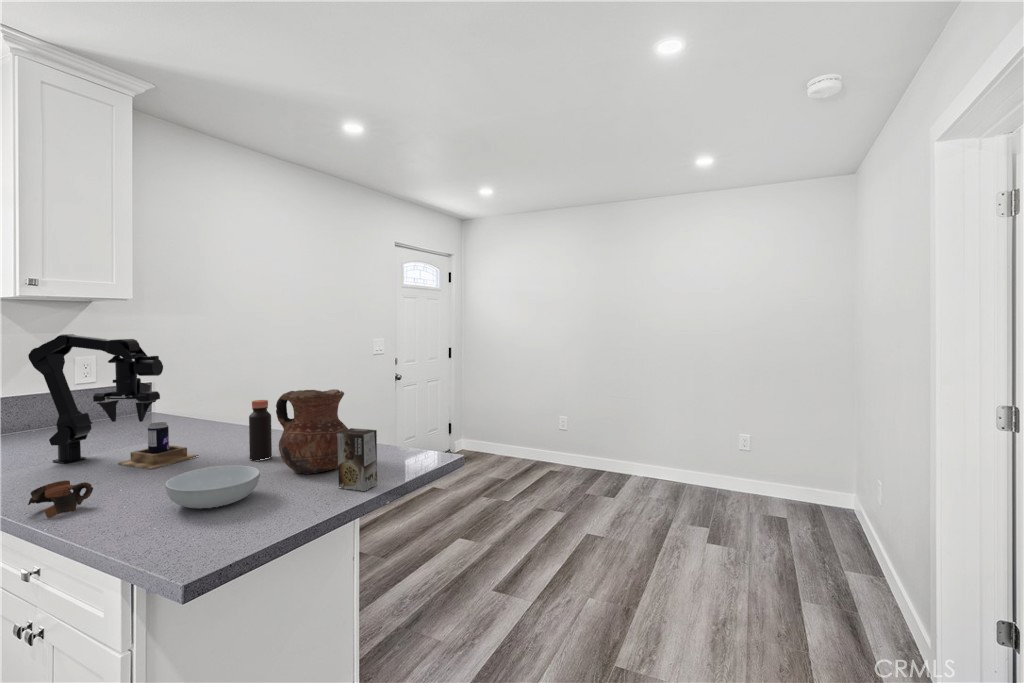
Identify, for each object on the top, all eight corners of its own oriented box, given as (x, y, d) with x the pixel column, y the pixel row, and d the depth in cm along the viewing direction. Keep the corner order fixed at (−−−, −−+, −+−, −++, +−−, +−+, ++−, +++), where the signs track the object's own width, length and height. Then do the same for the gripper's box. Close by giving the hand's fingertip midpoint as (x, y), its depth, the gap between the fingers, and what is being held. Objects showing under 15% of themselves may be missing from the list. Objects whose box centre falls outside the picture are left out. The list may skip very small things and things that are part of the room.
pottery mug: (29, 524, 113) (20, 491, 115) (41, 528, 121) (32, 498, 122) (95, 500, 120) (85, 469, 122) (102, 505, 128) (92, 477, 129)
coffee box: (378, 485, 140) (377, 429, 139) (364, 492, 134) (364, 434, 133) (351, 481, 143) (351, 427, 142) (337, 488, 137) (336, 432, 136)
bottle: (275, 457, 168) (275, 400, 167) (256, 462, 162) (255, 403, 162) (264, 455, 172) (263, 398, 171) (245, 459, 166) (244, 401, 165)
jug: (343, 455, 171) (342, 385, 170) (360, 470, 153) (359, 392, 153) (274, 465, 159) (272, 389, 158) (284, 483, 141) (282, 398, 140)
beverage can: (166, 460, 163) (165, 424, 162) (145, 461, 161) (144, 425, 160) (171, 455, 168) (170, 421, 168) (151, 457, 166) (151, 422, 166)
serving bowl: (191, 525, 112) (191, 495, 112) (150, 507, 123) (149, 480, 123) (276, 498, 130) (276, 472, 129) (233, 484, 141) (233, 460, 140)
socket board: (118, 464, 160) (117, 453, 160) (167, 452, 175) (167, 442, 175) (150, 469, 154) (150, 458, 154) (198, 456, 169) (198, 446, 169)
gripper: (170, 373, 173) (171, 417, 173) (117, 373, 172) (119, 417, 173) (147, 377, 161) (148, 423, 162) (90, 376, 161) (92, 423, 162)
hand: (127, 421), depth 165 cm, fingers open, 9 cm apart
